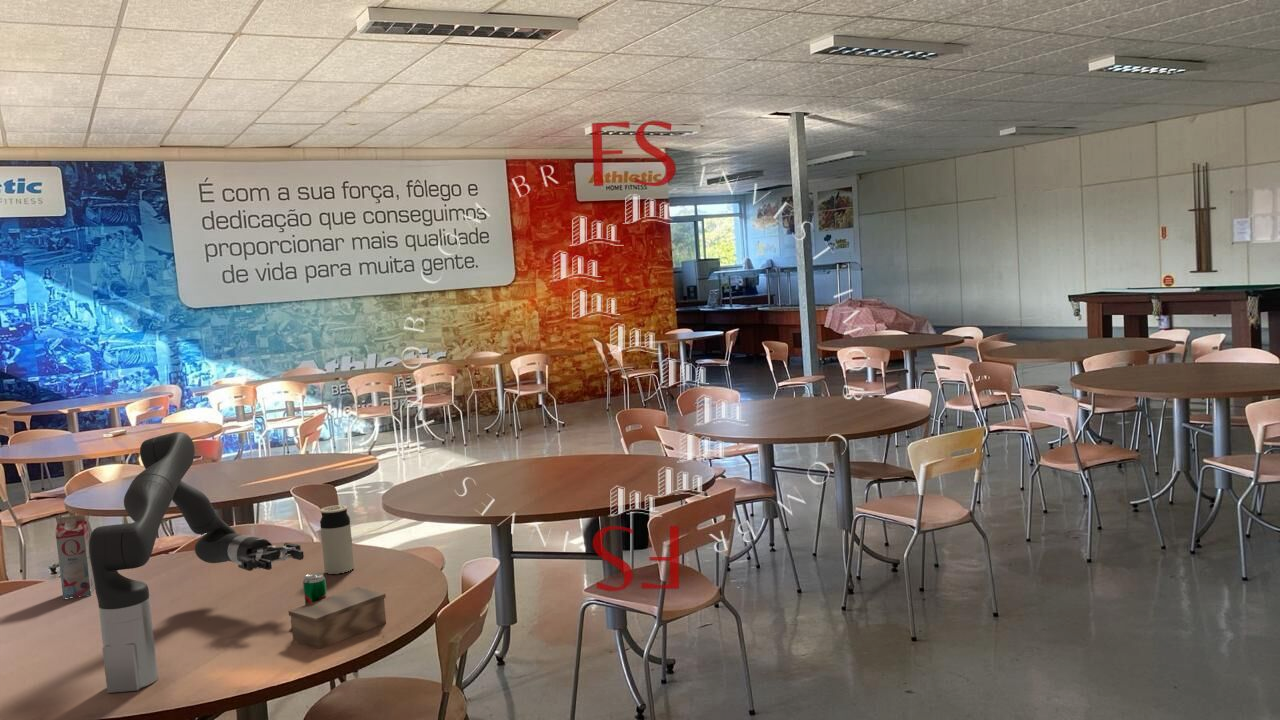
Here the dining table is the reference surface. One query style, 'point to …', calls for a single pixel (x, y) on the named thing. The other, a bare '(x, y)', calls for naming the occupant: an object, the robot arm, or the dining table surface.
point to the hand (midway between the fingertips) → (286, 560)
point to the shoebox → (338, 617)
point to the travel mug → (336, 539)
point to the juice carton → (74, 556)
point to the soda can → (314, 588)
